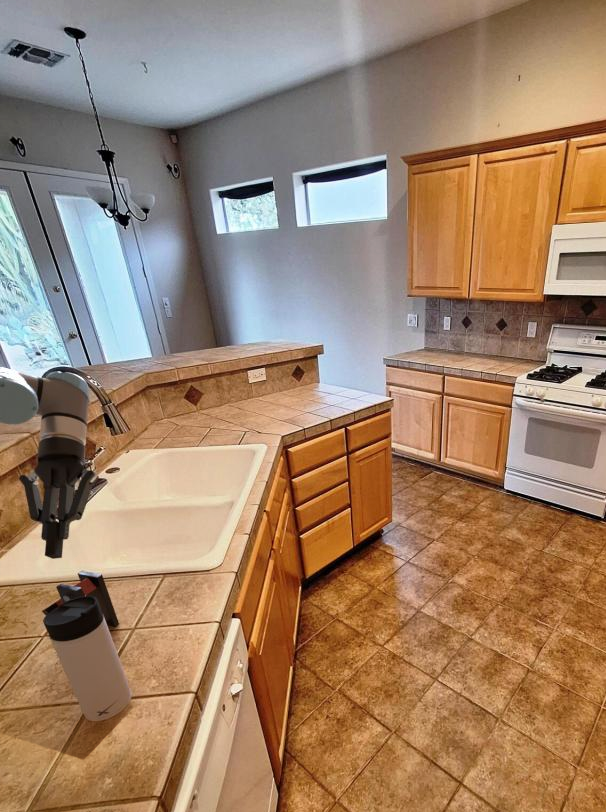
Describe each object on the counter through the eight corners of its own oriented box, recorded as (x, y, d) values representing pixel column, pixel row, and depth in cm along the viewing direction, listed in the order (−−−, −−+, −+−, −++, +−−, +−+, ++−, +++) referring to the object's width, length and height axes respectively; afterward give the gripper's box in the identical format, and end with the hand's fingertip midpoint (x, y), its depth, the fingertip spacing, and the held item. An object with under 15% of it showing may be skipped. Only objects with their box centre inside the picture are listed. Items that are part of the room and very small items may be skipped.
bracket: (52, 647, 77) (26, 590, 72) (96, 615, 85) (75, 561, 80) (106, 661, 75) (83, 602, 69) (146, 626, 82) (128, 571, 77)
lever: (48, 618, 77) (39, 608, 77) (74, 601, 82) (65, 592, 81) (78, 600, 73) (68, 589, 72) (103, 583, 77) (94, 572, 76)
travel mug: (115, 730, 63) (72, 625, 54) (76, 724, 64) (27, 619, 55) (145, 695, 68) (110, 594, 60) (108, 689, 69) (68, 589, 61)
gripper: (107, 450, 92) (101, 556, 85) (36, 454, 89) (24, 565, 82) (90, 433, 85) (83, 547, 78) (13, 437, 82) (-2, 556, 75)
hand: (53, 556), depth 80 cm, fingers closed
